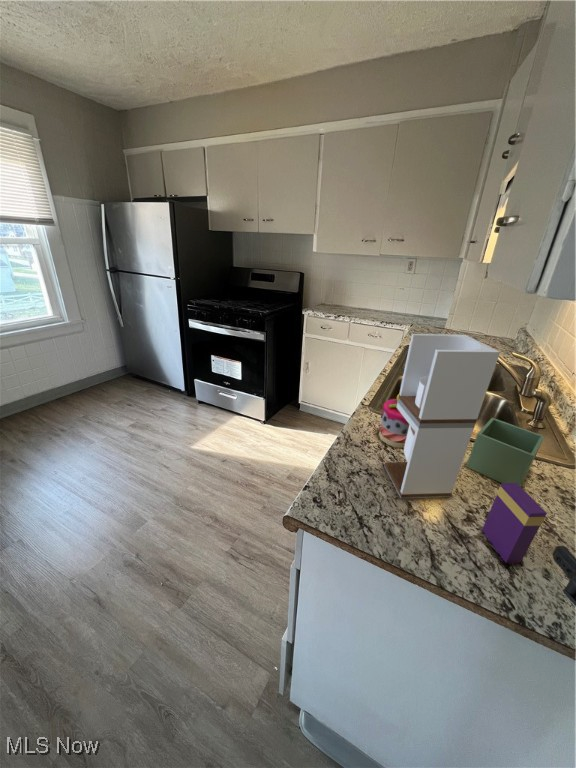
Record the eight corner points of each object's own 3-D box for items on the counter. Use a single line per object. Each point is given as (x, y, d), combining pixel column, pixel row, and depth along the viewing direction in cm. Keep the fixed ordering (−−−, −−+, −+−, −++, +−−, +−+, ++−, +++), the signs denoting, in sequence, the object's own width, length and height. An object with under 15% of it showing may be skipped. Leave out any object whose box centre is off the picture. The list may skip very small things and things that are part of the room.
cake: (371, 430, 94) (379, 386, 88) (403, 428, 96) (413, 384, 89) (387, 452, 85) (397, 404, 78) (422, 449, 87) (435, 401, 80)
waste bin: (528, 471, 80) (544, 436, 75) (517, 493, 72) (534, 456, 68) (479, 450, 87) (491, 417, 82) (465, 469, 80) (477, 433, 75)
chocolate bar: (494, 532, 63) (516, 482, 57) (519, 565, 56) (547, 513, 51) (480, 532, 62) (501, 482, 57) (504, 566, 56) (530, 513, 50)
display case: (427, 468, 80) (465, 334, 65) (449, 499, 70) (500, 351, 55) (383, 468, 79) (411, 333, 64) (400, 501, 69) (438, 351, 54)
